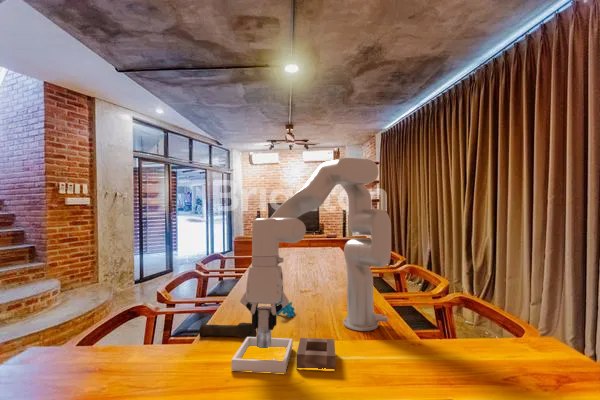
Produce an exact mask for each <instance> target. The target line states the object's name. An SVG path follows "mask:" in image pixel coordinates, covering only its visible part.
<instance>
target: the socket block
mask: <svg viewBox="0 0 600 400" xmlns="http://www.w3.org/2000/svg"><path fill="white" fill-rule="evenodd" d="M335 343H336V342H335V339H333V338H315V337H313V338H312V337H300V338H299V342H298V345H297V350H296V369H297V368H318V369H322V368H323V369H324V368H326V369H335V370H336V344H335Z"/></svg>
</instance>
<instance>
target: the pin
mask: <svg viewBox="0 0 600 400" xmlns="http://www.w3.org/2000/svg"><path fill="white" fill-rule="evenodd" d="M271 312H272V310H271V306H268V305H263V306H262V305H261V306H258V308H257V329H256V332H257V335H256V337H257V347H259V348H268V347H270V346H271V338H272V330H270V315H271Z"/></svg>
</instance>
